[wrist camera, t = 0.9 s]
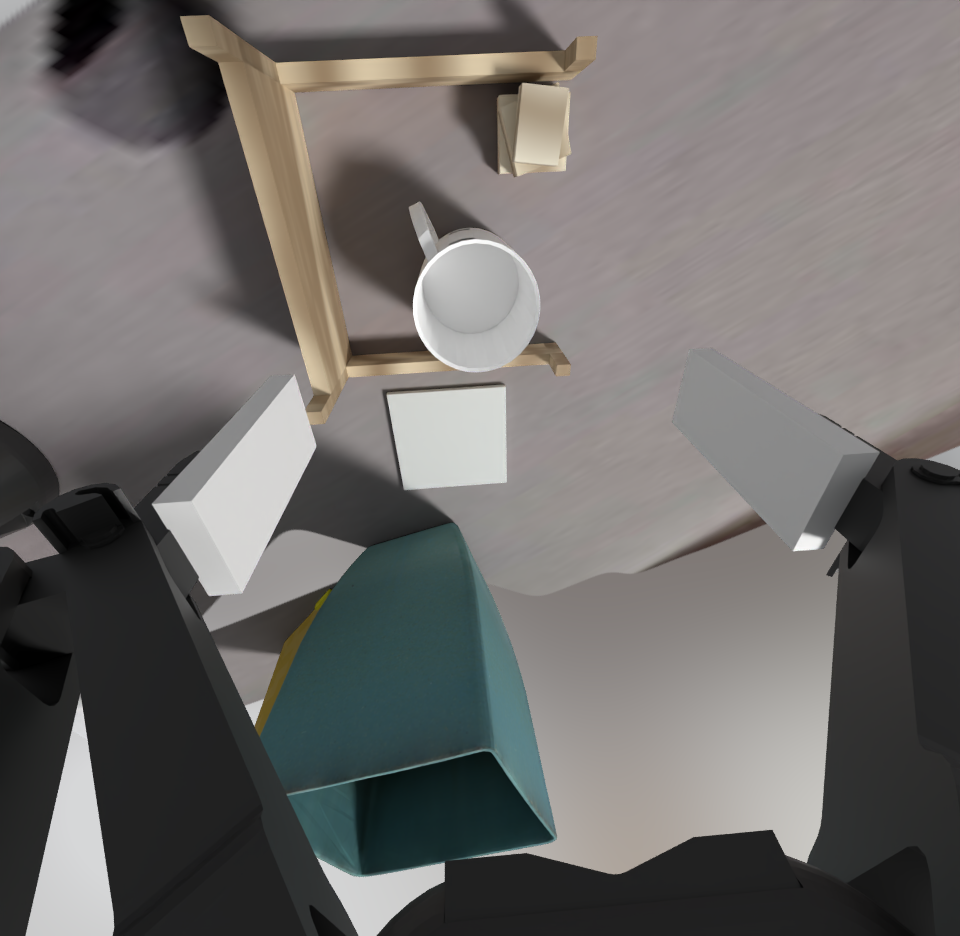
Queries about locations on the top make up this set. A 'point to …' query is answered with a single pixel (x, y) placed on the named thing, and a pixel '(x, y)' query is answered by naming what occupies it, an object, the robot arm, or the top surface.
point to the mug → (472, 297)
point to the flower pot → (409, 717)
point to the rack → (291, 190)
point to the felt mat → (450, 436)
